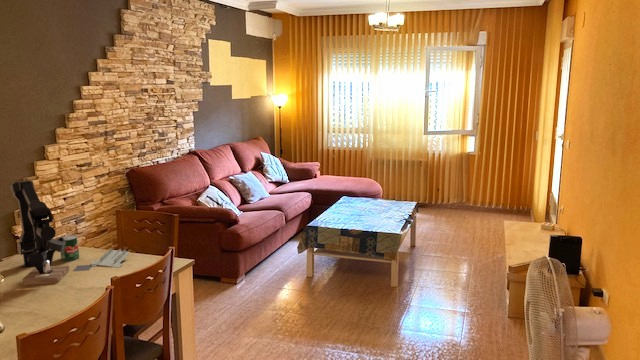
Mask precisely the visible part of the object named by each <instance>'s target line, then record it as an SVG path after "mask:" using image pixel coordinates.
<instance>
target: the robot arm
mask: <svg viewBox="0 0 640 360" xmlns="http://www.w3.org/2000/svg"><path fill="white" fill-rule="evenodd" d="M9 188H10V192H11V193H12V196H13V197H14V198H15V199H16V200H17V203H18V204H17V205H18V212H19V217H20V225H21V230H22V232H21V233H20V236H19V238H18V240H19V241H18V245H17V251H18V253H19V255H21V256H23V264H22V265H21V268H26V267H27V268H28V267H34V268H35V267H36V269H37V270H38V271H39V273H40V274H43V273H44V261H45V260H49V262H50V266H53V265H52V264H53V259H54V255H55V252H58V253H61V251H62V250H63V249H64V246H65V244H66V243H65V242H66V241H65V240H64V238H63V236H60V237H59V238H58V239H57V238H55V237H56V234H57V233H56V230H55V228H54V227H52V226H51V225H50V223H53V222H54V216H53V214H52V212H51V211H52V210H51V209H50V208H49V207H48V206H47V204H46V203H45V201H44V202H43V201H41V200H40V198H39V195H38V194H37V191H36V189H35V185H34V181H33V180H29V179H25V180H19V181H18V180H17V181H12V183H11V184H10V185H9Z"/></svg>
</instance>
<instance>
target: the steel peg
mask: <svg viewBox="0 0 640 360" xmlns="http://www.w3.org/2000/svg"><path fill="white" fill-rule="evenodd" d="M50 273H51V270H50V262H49V260H45V261H44V273H43V274H50Z"/></svg>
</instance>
